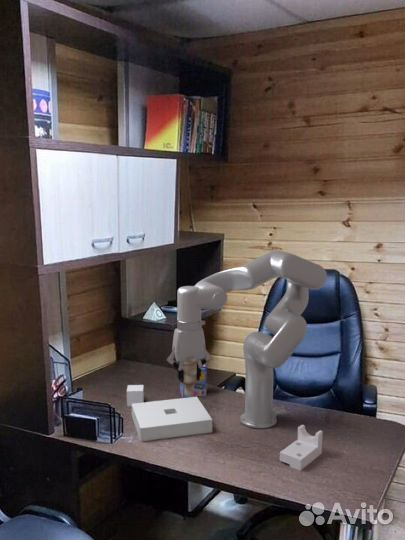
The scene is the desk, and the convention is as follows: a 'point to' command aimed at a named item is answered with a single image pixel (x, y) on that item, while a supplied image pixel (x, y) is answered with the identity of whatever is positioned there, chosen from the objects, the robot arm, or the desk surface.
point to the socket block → (170, 418)
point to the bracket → (302, 449)
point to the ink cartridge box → (197, 385)
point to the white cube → (135, 394)
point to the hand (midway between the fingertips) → (189, 379)
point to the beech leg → (190, 375)
